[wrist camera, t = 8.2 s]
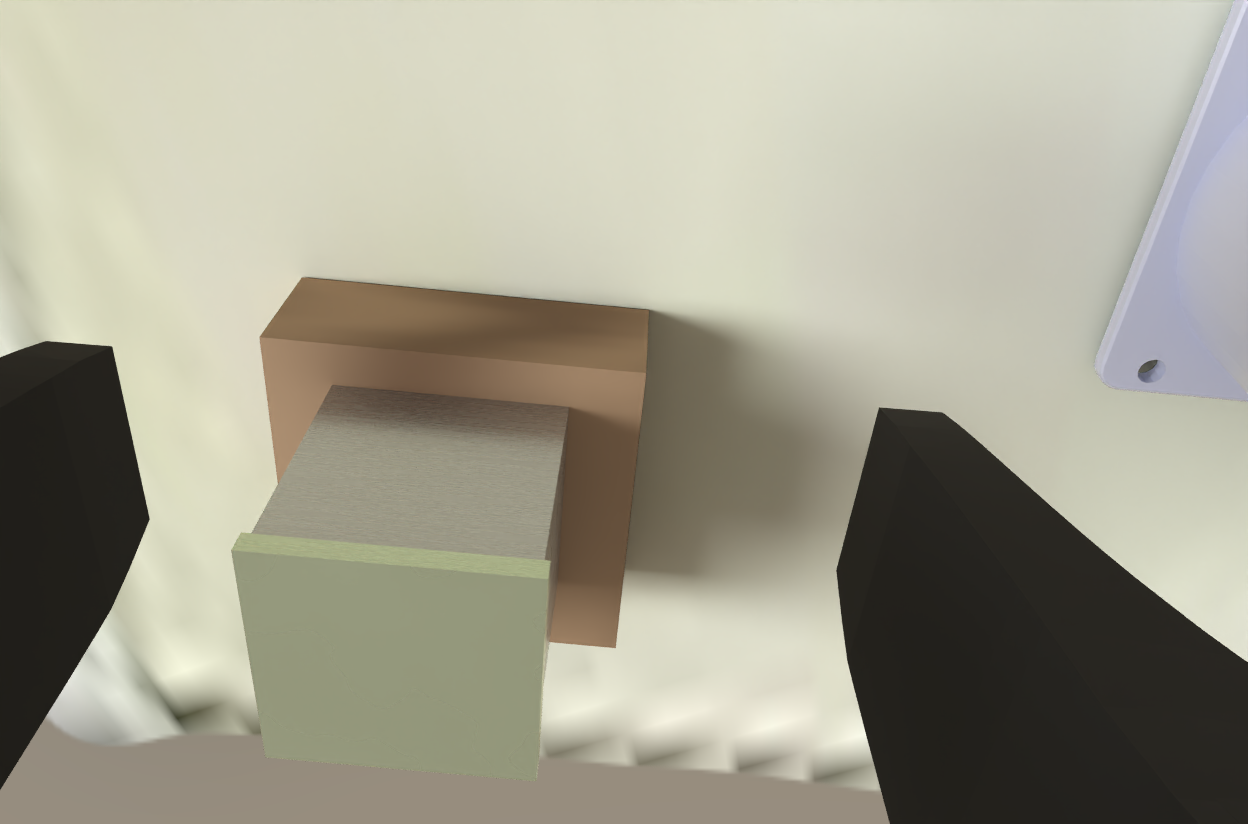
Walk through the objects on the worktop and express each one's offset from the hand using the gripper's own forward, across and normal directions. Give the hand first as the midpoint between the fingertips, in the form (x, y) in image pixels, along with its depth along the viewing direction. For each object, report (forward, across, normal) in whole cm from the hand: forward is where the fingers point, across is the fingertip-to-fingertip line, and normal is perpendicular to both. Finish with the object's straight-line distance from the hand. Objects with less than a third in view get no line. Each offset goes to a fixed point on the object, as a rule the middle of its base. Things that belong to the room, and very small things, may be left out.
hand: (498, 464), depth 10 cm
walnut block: (+10, +2, +7) cm, 13 cm away
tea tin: (+8, +2, +7) cm, 11 cm away
